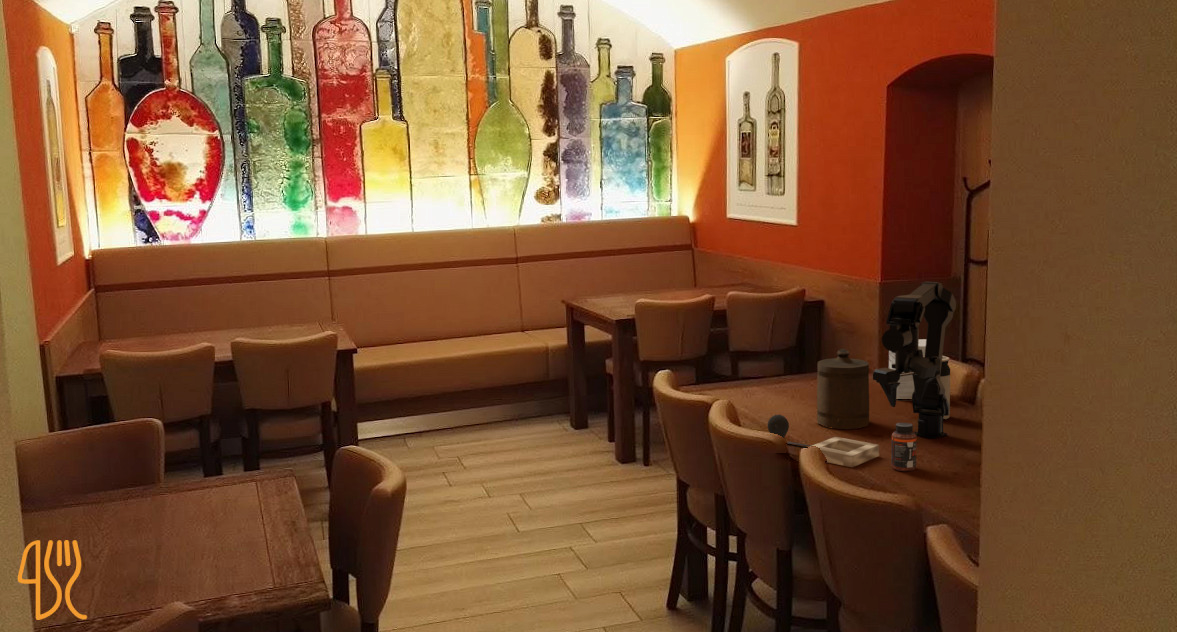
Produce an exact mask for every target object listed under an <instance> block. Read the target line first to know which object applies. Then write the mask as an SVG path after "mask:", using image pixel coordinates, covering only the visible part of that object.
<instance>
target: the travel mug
mask: <svg viewBox="0 0 1177 632" xmlns="http://www.w3.org/2000/svg"><path fill="white" fill-rule="evenodd" d="M949 361H950V357H948V356H945V355H942V365H941V374H940V380H941V382H942V384H943V386H944V388H945V396H946V398H947V400H948V403H949V405H951V404H950V403H951V400H950V398H951V367H950V365H949ZM950 407H951V406H950ZM950 407H949V409H950ZM950 410H951V409H950ZM950 410H949V415H948V416H944V417H943V419H945V420H947V419H949V418H950V414H951V413H950V412H951V411H950Z"/></svg>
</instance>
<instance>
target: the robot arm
mask: <svg viewBox="0 0 1177 632" xmlns="http://www.w3.org/2000/svg"><path fill="white" fill-rule="evenodd" d="M889 306H890V307H889V311H888V315H887V318H886V323H885V324H886V325H889V329H888V330H886V331H884V333H883V335H882V337H881V344H882V345H883V347H884V348H885V350H887V351H888V352H889V351H892V353H895V364H892V368H894V369H896V370H894V369H889V367H880V368H876V369H874V370H873V371H872V381H876V383H878V384H879V385H880V388H881V389H882V390H883V392H884V394H885V396H886V399H887V400H888V403H889V404H890V407H892V408H895V407H896V405H897V400H896V393H897V387H898V386H899V385H900V382H898V381H899V379H900V377H901V376H907V375H912V376H913V382H914V392H913V394H912V400H911V405H912V410H913V411H912V412H913V414H918V419H917V431H913V432H914V433H915V434H916V436H921V437H925V438H927V439H935V438H936V439H937V438H940V437H946V436H948V433H947V432H944V420H943V417H944V416H948V415H949V410H951V409H949V407H951V406H950V405H951V404H950V405H949V403H948V400H947V398H946V396H945V388H944V386H943V384H942V382H941V380H940V374H941V365H942V356H944V355H943V353H944V344H945V335H946V327H947V326H948V325H949V323H951V321H952V319H953V317H954V312H955V311H956V309H957V300H956V298H955V296H954V294H953V292H951V291H950V290H948V289H947V288H945V287H944V286H943V284H942V283H941V282H937V281H923V282H921V283H920V285H919V286H918V287H917V288H915V290H913V291H911V292H910V293H909V294H905V295H898V296H895V297H894V299H893V300H892V301H891V303H890V305H889ZM923 318H924V319H925V321H926V323H927V330H926V347H925V357H923V351H922V350H921V349H918V344H919V339H920V338H919V333H920V332H919V331H920V330H919V326H920V324H921V323H922V320H923ZM902 372H904V373H902Z"/></svg>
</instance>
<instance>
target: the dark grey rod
mask: <svg viewBox="0 0 1177 632" xmlns="http://www.w3.org/2000/svg"><path fill="white" fill-rule="evenodd" d="M787 442H788V444H795V445H800V446H801V445H802V446H803V447H802V448H804V447H806V446H812V445H811V444H810V445H809V444H805V443H804V444H803V443H797V442H791V441H787Z"/></svg>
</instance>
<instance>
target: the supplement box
mask: <svg viewBox="0 0 1177 632" xmlns="http://www.w3.org/2000/svg"><path fill="white" fill-rule="evenodd" d="M925 347H926V339H924V338H923V339H920V338H919V344H918V349H921V350H922V351H923V357H925ZM892 364H895V353H892V351H889V350H888V368H889V369H894V368H892ZM894 370H896V369H894ZM902 373H904V372H902ZM898 382H900V385H899V386H898V387H897V393H896V399H912V394H913V392H914V382H913V376H912V375H907V376H901V377H900V379H899V381H898Z"/></svg>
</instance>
